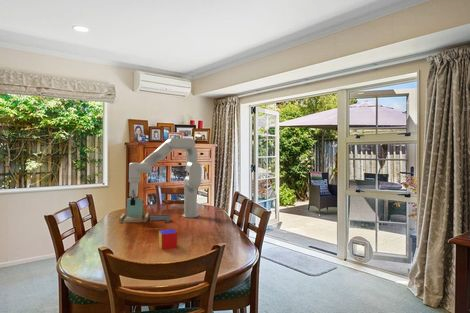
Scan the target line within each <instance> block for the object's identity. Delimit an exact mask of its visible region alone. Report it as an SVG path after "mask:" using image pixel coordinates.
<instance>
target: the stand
mask: <svg viewBox="0 0 470 313" xmlns="http://www.w3.org/2000/svg"><path fill="white" fill-rule="evenodd" d="M149 221H150V222H151V221H152V222H153V221H154V222H155V221H157V222H158V221H163V223H171V214H151V215H149Z"/></svg>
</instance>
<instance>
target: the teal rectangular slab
mask: <svg viewBox="0 0 470 313" xmlns="http://www.w3.org/2000/svg"><path fill="white" fill-rule="evenodd" d="M130 200H131V198H127V199H126V215H127V216H142V201H143V198H142V197H140V198H139V197H137V198H135V205H130Z"/></svg>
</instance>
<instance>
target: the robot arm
mask: <svg viewBox="0 0 470 313" xmlns="http://www.w3.org/2000/svg"><path fill="white" fill-rule="evenodd" d="M174 150H184V151H185V154H186V157H185V158H186V159H185V160H186V162H185V170H186V172H187V173H188V175H186V176H185V177H184V178H183V190H184V194H183V197H184V199H183V200H184V201H183V202H184V203H183V204H184V206H183V209H184V211H183V214H182V215H181V216H182V218H189V219H191V218H198V217H199V213H198V212H197V211H198V205H197V204H198V202H197V201H198V199H197V198H198V192H197V191H198V190H197V189H198V188H199V187H201V184H202V174H203V173H202V172H203V168H202V165H201V163H200V162H198V150H197V147H196V141H195V140H194V139H193V138H190V137H170V138H168V139H166V140H165V141H164V142H163V143H162V144H161V145H160V146H159V147H158V148H157V149H156V150H153V152H152V153H150V154H149V155H148V156H147V157H146V158H145V159H144V160H142V161H141V162H130V163H129V164H128V183H129V191H128V192H129V193H128V197H130V199H131V200H130V205H135V198H138V196H139V195H138V194H139V183H140V182H141V174H148V173H151V171H152V170H153V167H154V165H156V164H157V163H158V162H160V161H162V160H164V159H165V158H166V157H167V156H168V155H170V154H171V152H173V151H174Z"/></svg>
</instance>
